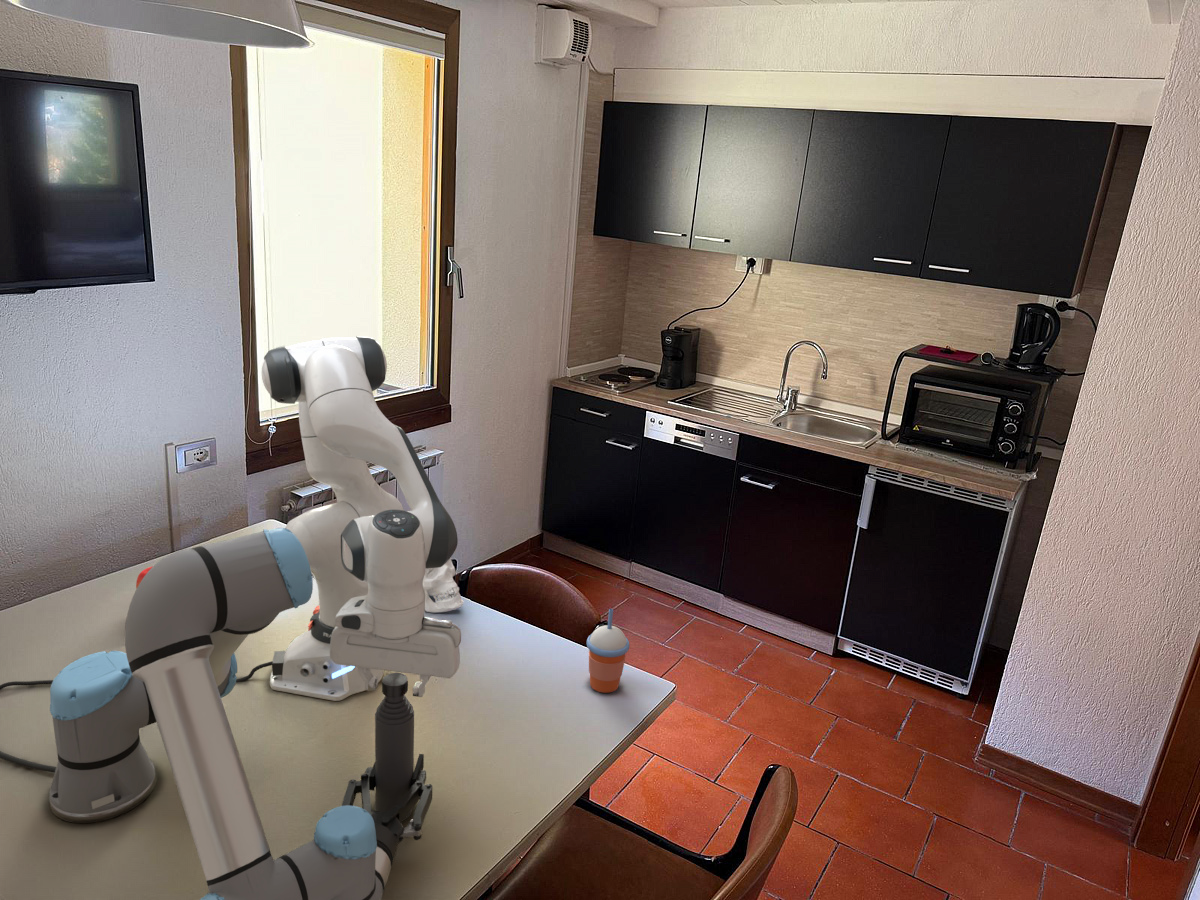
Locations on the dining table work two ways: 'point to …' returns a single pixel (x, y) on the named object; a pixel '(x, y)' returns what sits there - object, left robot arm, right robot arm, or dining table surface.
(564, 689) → the dining table surface
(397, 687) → the cap
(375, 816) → the left robot arm
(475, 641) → the dining table surface
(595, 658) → the cup with straw
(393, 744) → the bottle
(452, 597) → the skull
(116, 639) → the dining table surface
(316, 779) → the dining table surface
